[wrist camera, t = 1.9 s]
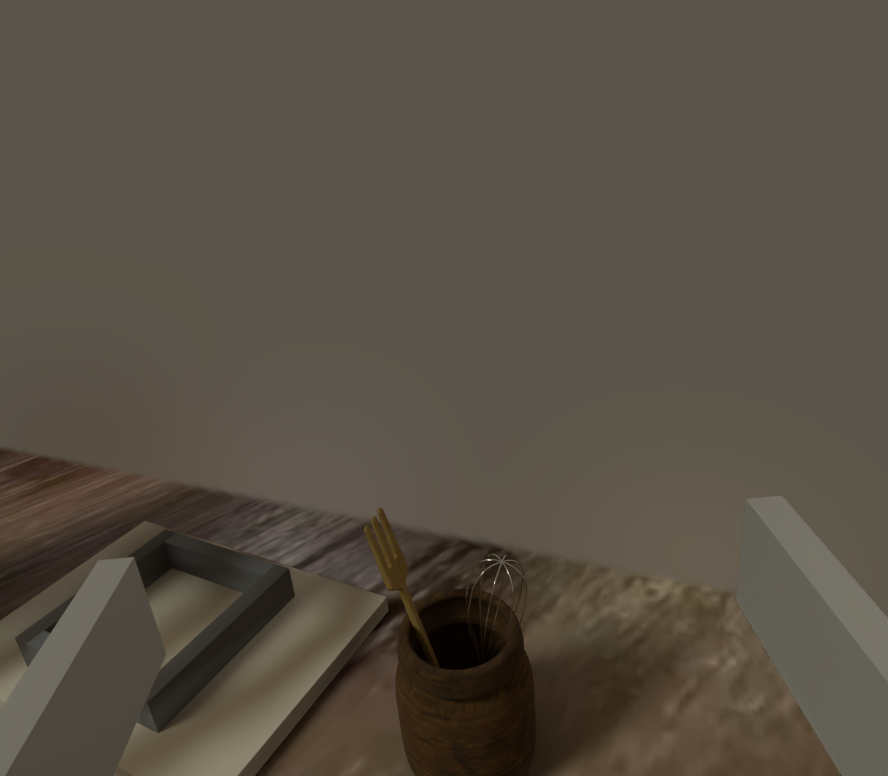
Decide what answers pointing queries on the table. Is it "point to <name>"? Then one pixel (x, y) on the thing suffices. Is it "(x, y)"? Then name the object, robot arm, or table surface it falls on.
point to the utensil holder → (459, 675)
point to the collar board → (213, 649)
